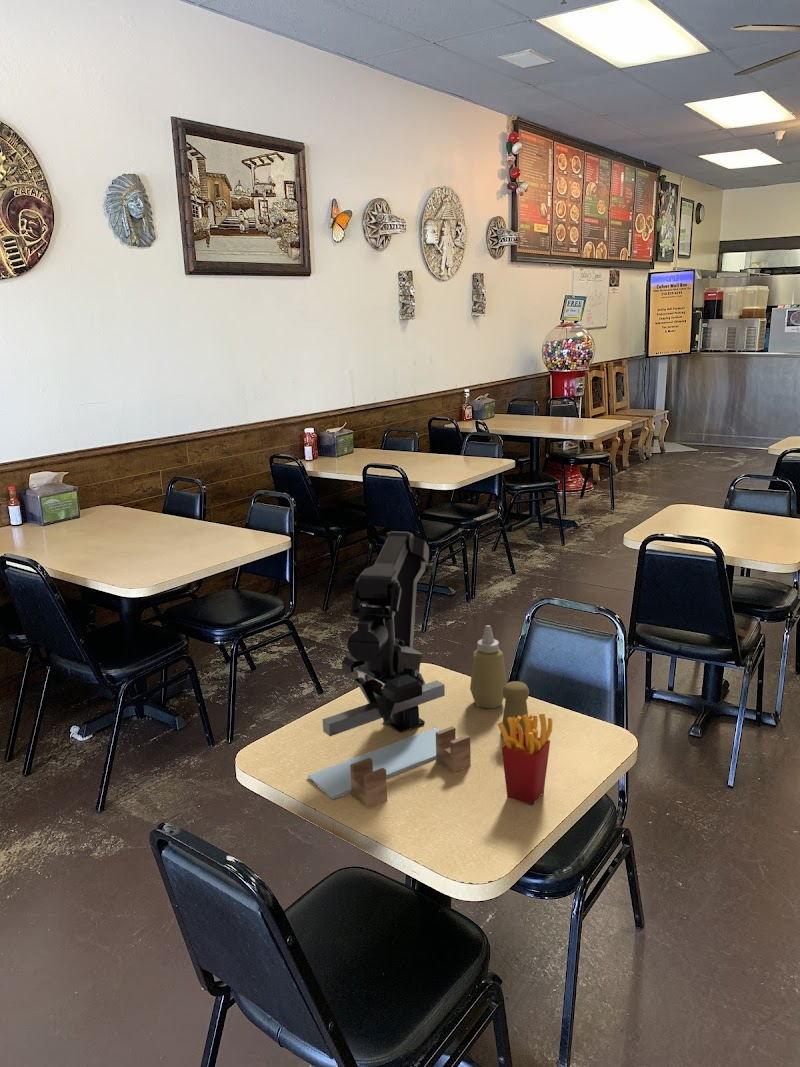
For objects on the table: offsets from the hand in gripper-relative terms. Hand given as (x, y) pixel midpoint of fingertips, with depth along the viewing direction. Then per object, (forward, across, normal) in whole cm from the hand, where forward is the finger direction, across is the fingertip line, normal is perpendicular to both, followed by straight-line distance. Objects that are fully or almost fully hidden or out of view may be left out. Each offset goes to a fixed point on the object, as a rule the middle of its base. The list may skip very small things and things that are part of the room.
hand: (382, 717), depth 150 cm
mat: (+10, 0, -1) cm, 10 cm away
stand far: (+10, -8, -10) cm, 16 cm away
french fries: (+10, -23, -14) cm, 29 cm away
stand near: (+10, -8, +9) cm, 15 cm away
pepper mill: (+10, -7, -27) cm, 30 cm away
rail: (-1, 0, -1) cm, 1 cm away
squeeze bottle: (+10, +7, -32) cm, 35 cm away
